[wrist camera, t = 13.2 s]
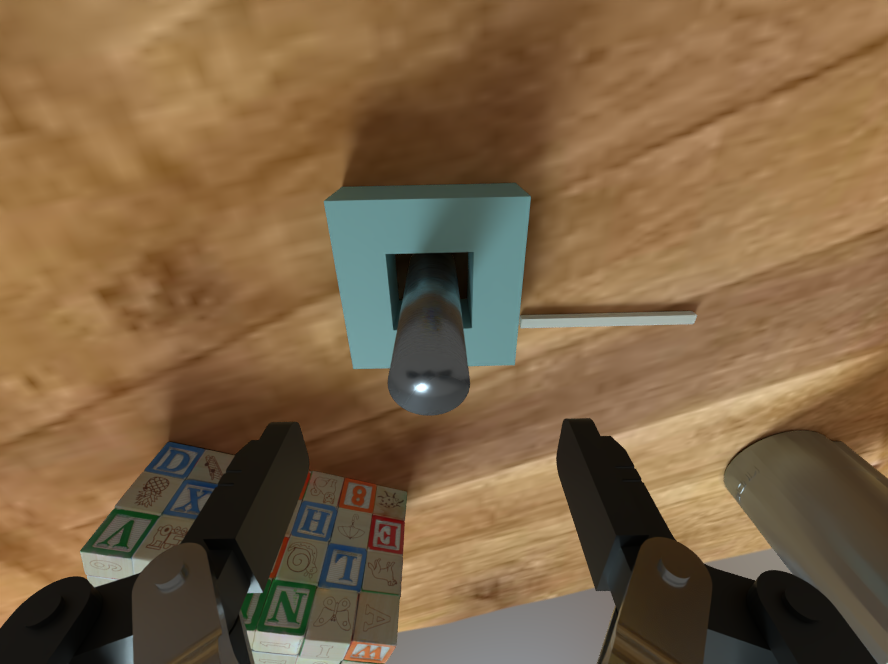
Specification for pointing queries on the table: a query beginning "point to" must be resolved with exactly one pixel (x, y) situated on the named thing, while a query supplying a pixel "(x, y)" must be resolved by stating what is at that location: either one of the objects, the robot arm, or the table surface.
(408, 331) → the grey metal cylinder
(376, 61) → the table surface
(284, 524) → the robot arm
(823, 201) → the table surface
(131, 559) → the stack of blocks
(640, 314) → the grey stick
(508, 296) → the bead
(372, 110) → the table surface
